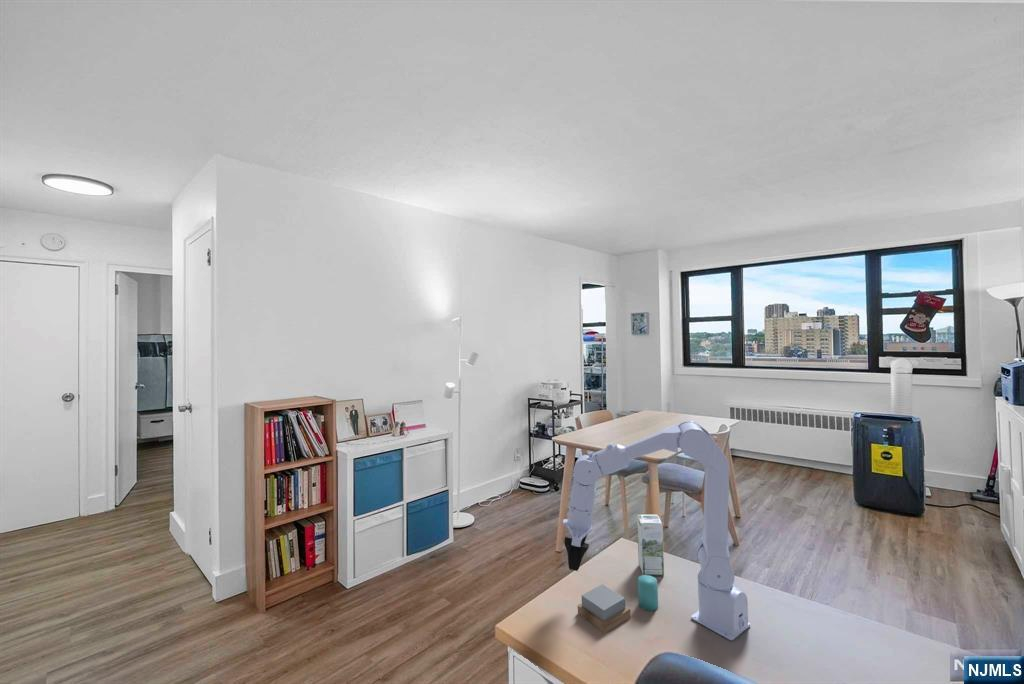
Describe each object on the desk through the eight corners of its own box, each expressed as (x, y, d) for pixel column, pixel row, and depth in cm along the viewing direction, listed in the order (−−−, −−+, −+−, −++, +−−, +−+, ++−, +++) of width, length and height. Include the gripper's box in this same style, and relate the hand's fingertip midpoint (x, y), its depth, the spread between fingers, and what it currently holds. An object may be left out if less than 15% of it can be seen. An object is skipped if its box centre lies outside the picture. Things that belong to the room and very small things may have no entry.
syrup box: (659, 564, 120) (657, 513, 120) (664, 576, 114) (662, 522, 114) (638, 564, 121) (636, 513, 121) (642, 576, 115) (640, 522, 115)
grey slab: (625, 608, 99) (625, 598, 99) (604, 621, 95) (603, 610, 95) (602, 594, 105) (602, 584, 105) (581, 605, 101) (581, 595, 101)
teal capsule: (662, 605, 102) (661, 580, 102) (650, 613, 100) (649, 587, 100) (646, 597, 106) (645, 573, 106) (635, 604, 103) (634, 579, 103)
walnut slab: (630, 619, 99) (630, 608, 99) (605, 635, 94) (604, 624, 94) (603, 601, 106) (602, 591, 106) (578, 616, 101) (577, 605, 101)
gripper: (568, 492, 112) (562, 542, 112) (561, 515, 98) (554, 573, 98) (596, 497, 110) (589, 549, 111) (592, 522, 96) (585, 580, 97)
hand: (575, 560), depth 104 cm, fingers open, 7 cm apart
